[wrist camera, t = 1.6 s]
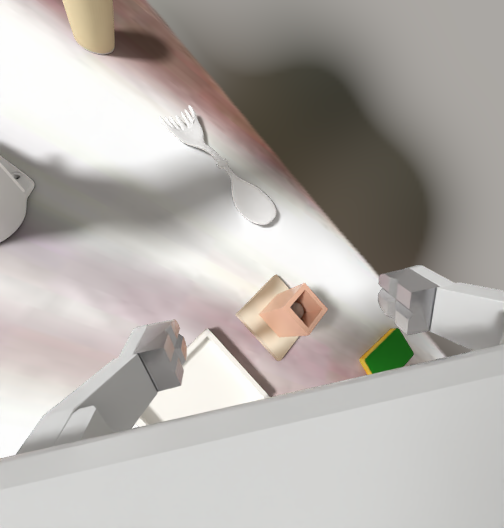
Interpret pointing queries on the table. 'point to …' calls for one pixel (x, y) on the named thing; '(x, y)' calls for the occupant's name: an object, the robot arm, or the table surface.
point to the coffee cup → (92, 24)
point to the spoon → (243, 193)
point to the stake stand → (259, 326)
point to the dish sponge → (387, 353)
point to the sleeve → (286, 319)
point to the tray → (204, 384)
